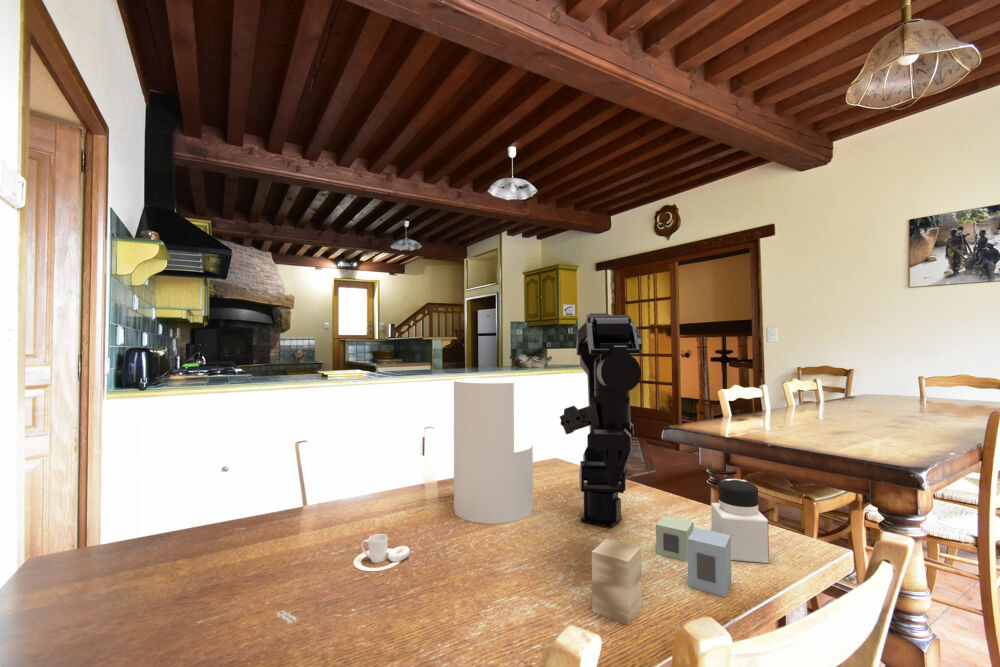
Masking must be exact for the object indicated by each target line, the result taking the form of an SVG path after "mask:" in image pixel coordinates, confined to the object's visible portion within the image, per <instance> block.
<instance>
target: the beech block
mask: <svg viewBox="0 0 1000 667" xmlns="http://www.w3.org/2000/svg"><path fill="white" fill-rule="evenodd" d="M642 594H643V593H642V547H641V546H636V545H632V544H628V543H627V542H626V543H625V542H622V541H617V540H614V539H611V538H605V539H604V540H603V541H602V542H601V543H599V544H598V545H597V546H596V547H595V548H594V549H593V550H592V551H591V596H592V597H591V598H592V600H591V602H592V604H591V605H592V606H591V608H592V610H591V611H592V613H594V614H596V615H598V616H599V615H600V616H603V617H605V618H608V619H611V620H613V621H617V622H619V623H622V624H625V625H627V626H629V625H630V624H631V623H632V622H633V620H634V619H635V617H636V615H637V614H638V613H639V611H640V610H641V609H642V601H643V600H642Z"/></svg>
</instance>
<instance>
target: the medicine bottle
mask: <svg viewBox="0 0 1000 667" xmlns="http://www.w3.org/2000/svg"><path fill="white" fill-rule="evenodd" d="M710 506H711V508H710V509H711V513H710V514H711V531H713V532H718V533H722V534H727V535H731V561H734V562H735V561H736V562H738V561H739V562H750V563H760V564H761V563H762V564H768V563H769V562H770V554H769V553H770V552H769V550H770V547H769V546H770V545H769V540H770V539H769V537H770V536H769V520H768V519H767V518H766V517H765V516H764V515H763V514H762V513H761V512H760V511H759V488H758V487H757V485H756V484H754V483H752V482H751V481H747V480H744V479H739V478H727V479H723V480H720V481H719V482H718V502H711V504H710Z"/></svg>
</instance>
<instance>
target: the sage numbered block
mask: <svg viewBox="0 0 1000 667" xmlns="http://www.w3.org/2000/svg"><path fill="white" fill-rule="evenodd" d="M694 523H695V522H694V521H692V520H687V519H682V518H678V517H673V516H668V515H663V516H662V517H661V518H660V519H659V520H658V521H657V523H655V553H656V554H657V555H660V556H664V557H668V558H672V559H675V560H680V561H683V562H688V538H689V536H690V535H691V533H692V532H693V530H694V529H695V527H694V525H695V524H694Z"/></svg>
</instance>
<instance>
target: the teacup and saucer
mask: <svg viewBox="0 0 1000 667" xmlns="http://www.w3.org/2000/svg"><path fill="white" fill-rule="evenodd" d="M388 540H389V537H388V535H387V534H384V533H376V534H372V535H370V536H369V537H368V538H367V539H364V540H363V541H362V542H361V544H360V545H361V550H362V553H359V554H358V555H356V556H355V558H354V559H353V566H354V567H355V569H358V570H361V571H363V572H381V571H385V570H389V569H391V568H394V567H395V566H398V565H399V564H400V563H401V562H402V561H403V560H405V559H407V558H408V557H409V555H410V553H411V549H410V548H409V546H406V545H400V546H397V547H393V548H390V547H389V548H388ZM364 543H367V544H368V550H365V548H364ZM366 557H368V558H369V559H370V562H372V563H373V564H380V563H382V562H384V561H385V560H386V558H387V559H388V560H389V561H391V563H390V564H387V565H385V566H380V567H367V566H364V565H363V564H362V560H363V559H364V558H366Z"/></svg>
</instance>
